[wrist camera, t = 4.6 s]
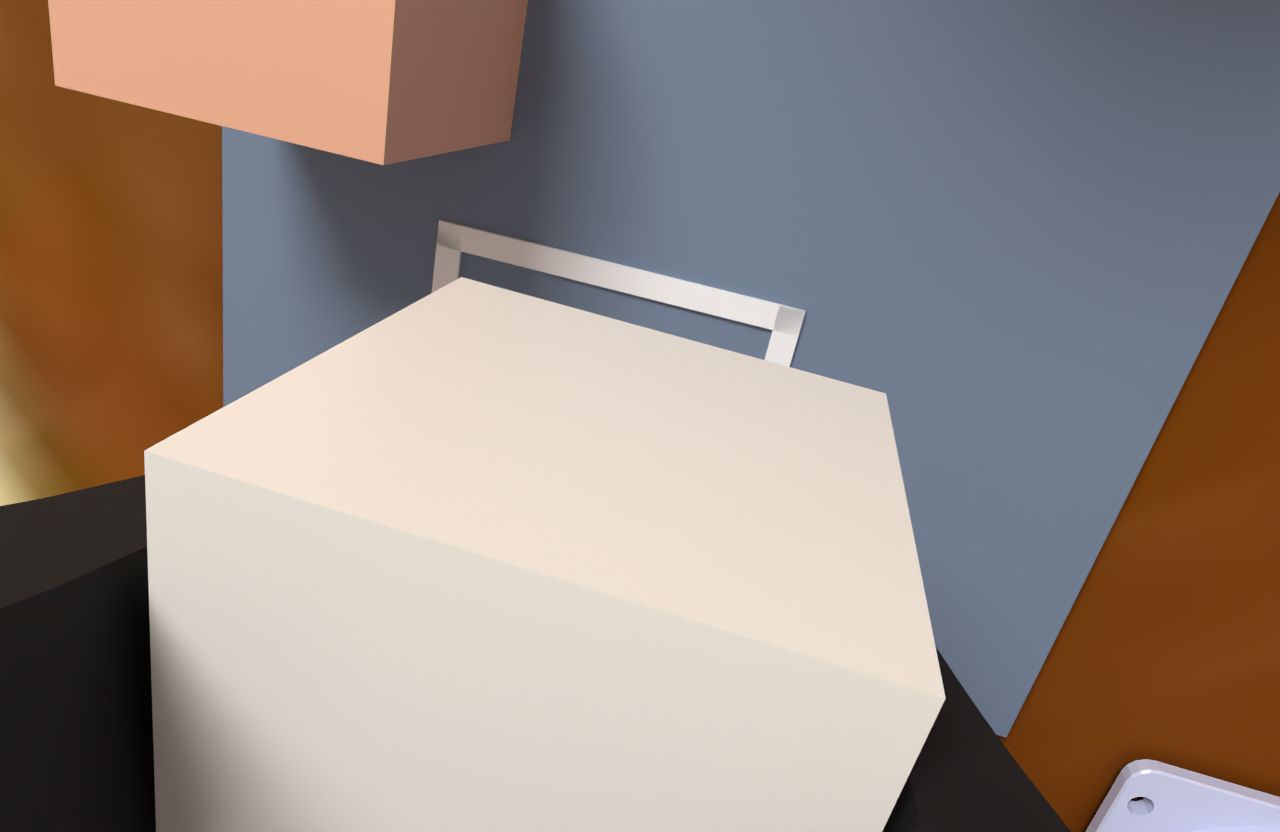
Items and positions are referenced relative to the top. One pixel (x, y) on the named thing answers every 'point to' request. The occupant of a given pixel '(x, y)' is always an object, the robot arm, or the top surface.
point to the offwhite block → (535, 588)
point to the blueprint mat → (842, 240)
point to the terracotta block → (306, 67)
